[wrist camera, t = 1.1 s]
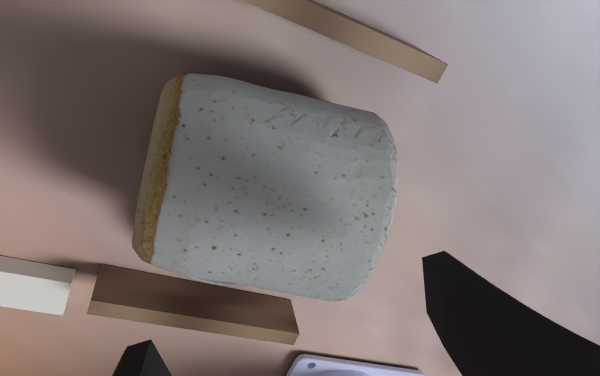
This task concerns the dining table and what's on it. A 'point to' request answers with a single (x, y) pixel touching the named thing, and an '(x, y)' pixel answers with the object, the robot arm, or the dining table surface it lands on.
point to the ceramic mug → (265, 189)
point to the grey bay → (34, 285)
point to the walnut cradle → (225, 301)
